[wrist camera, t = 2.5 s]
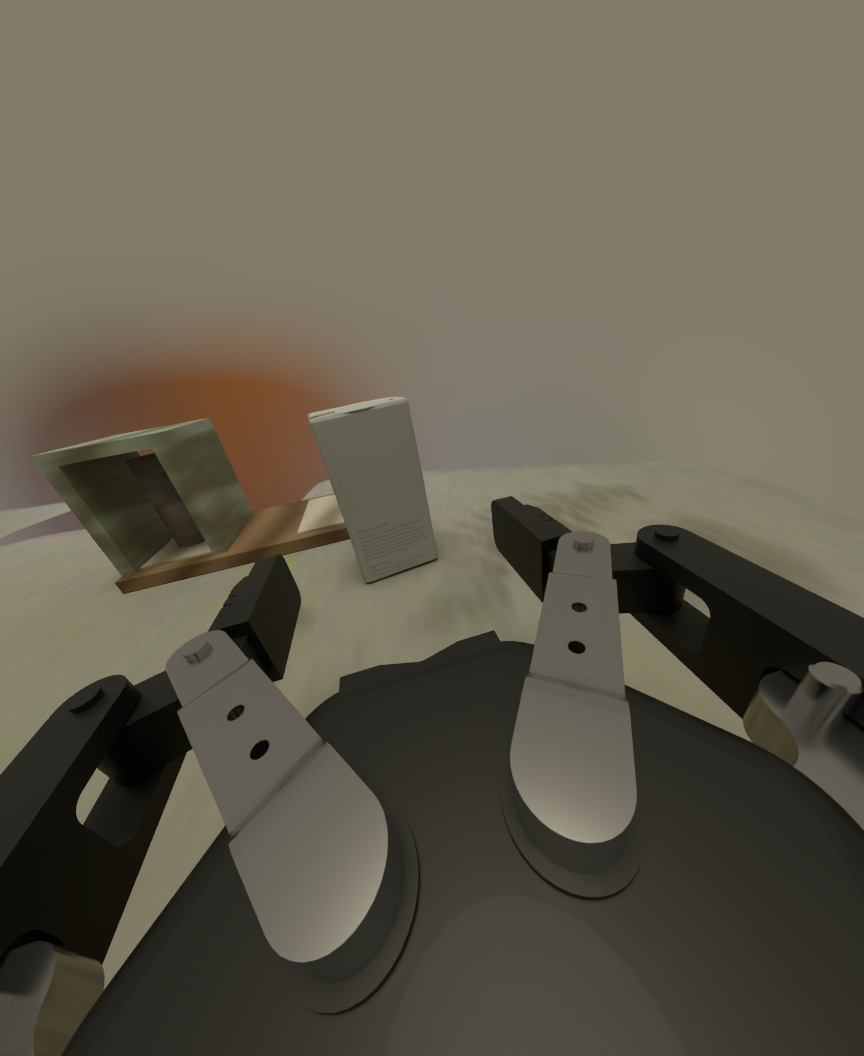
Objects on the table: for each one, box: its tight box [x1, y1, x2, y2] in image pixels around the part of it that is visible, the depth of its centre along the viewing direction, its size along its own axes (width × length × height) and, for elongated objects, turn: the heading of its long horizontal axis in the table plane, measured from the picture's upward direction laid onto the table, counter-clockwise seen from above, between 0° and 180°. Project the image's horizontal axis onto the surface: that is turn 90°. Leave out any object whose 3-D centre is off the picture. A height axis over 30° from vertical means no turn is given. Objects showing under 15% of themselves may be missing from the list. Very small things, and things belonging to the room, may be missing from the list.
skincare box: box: [308, 397, 438, 583], centre depth 23 cm, size 6×4×12 cm
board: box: [30, 418, 350, 593], centre depth 31 cm, size 26×11×12 cm, turn 103°
